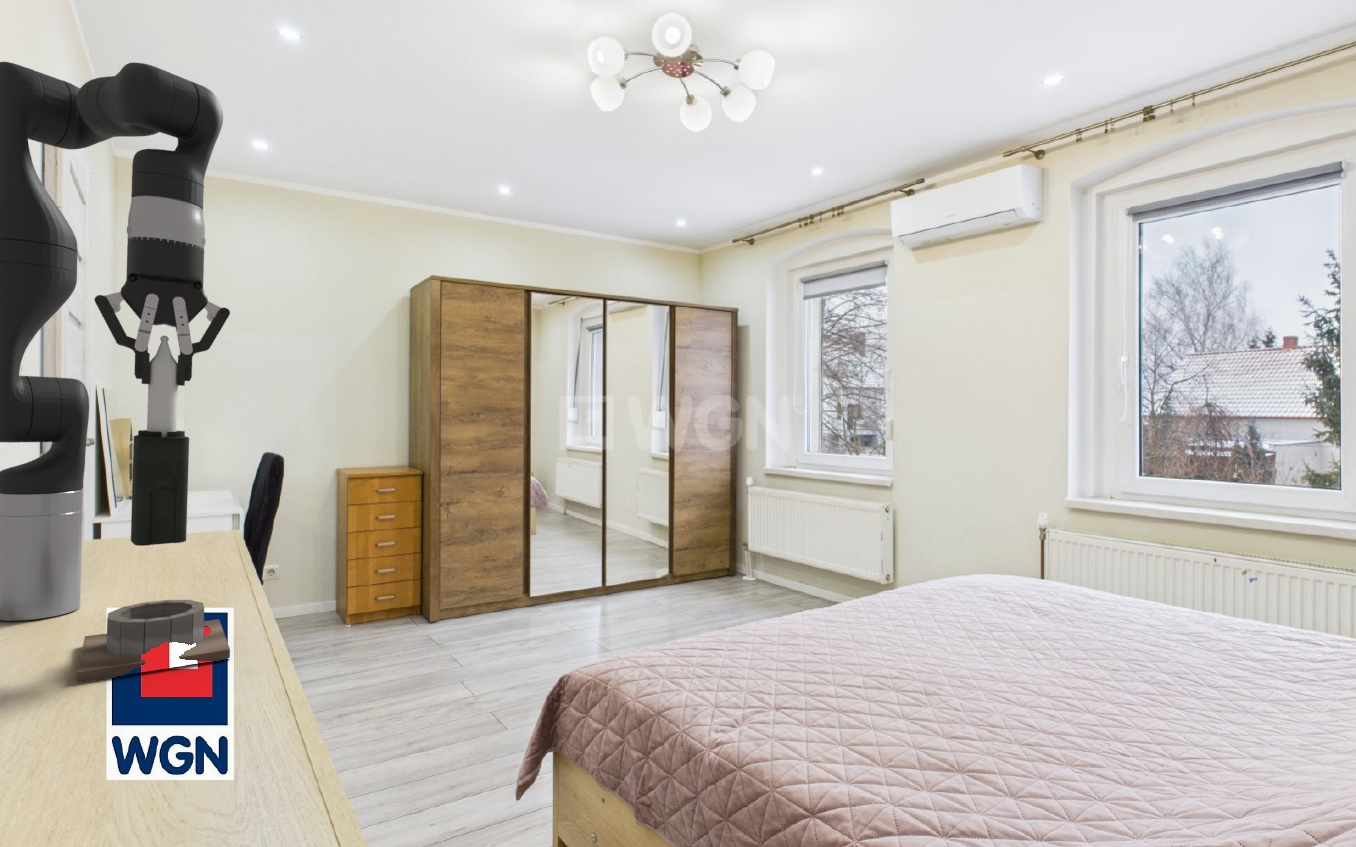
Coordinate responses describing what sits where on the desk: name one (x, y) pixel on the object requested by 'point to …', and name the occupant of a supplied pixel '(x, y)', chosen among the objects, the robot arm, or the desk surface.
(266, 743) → the desk surface
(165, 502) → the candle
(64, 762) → the desk surface
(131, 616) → the holder
